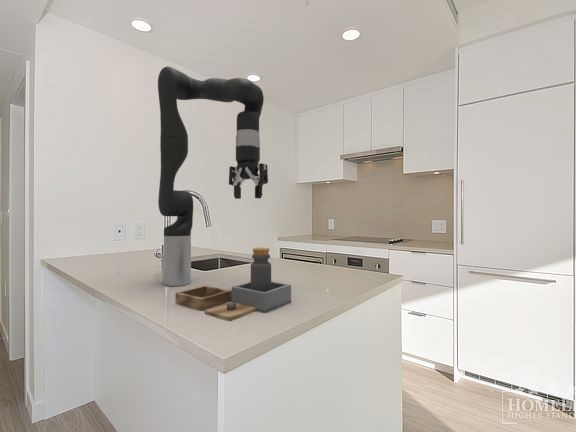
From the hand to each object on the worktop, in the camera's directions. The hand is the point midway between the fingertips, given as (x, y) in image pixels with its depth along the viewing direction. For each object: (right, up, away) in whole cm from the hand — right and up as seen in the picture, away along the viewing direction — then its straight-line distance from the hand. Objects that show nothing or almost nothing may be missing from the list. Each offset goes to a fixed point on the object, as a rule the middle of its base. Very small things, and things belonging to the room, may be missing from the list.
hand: (247, 198), depth 99 cm
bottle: (+5, -30, -9) cm, 32 cm away
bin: (+5, -30, -9) cm, 32 cm away
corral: (-11, -30, -9) cm, 33 cm away
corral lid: (-2, -30, -17) cm, 35 cm away
